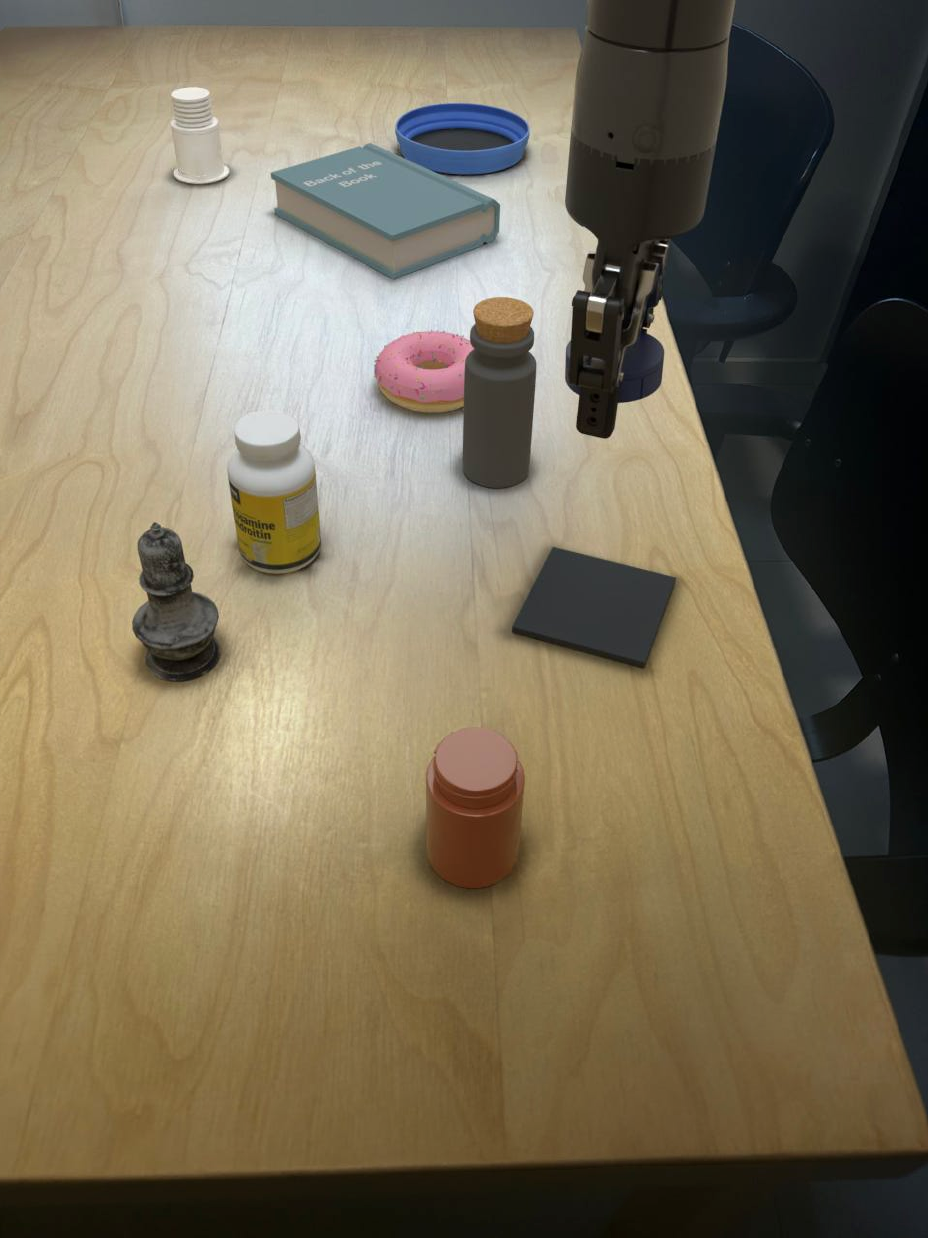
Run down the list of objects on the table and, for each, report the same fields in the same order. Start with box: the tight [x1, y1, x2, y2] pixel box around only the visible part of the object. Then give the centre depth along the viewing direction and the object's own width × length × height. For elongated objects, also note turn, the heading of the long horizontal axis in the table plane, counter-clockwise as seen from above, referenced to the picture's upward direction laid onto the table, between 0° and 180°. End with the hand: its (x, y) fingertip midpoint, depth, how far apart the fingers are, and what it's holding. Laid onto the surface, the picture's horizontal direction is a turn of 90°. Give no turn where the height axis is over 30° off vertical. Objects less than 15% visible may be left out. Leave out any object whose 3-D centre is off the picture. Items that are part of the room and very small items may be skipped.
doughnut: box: [373, 329, 474, 414], centre depth 104 cm, size 11×11×4 cm
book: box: [270, 142, 501, 280], centre depth 131 cm, size 23×16×5 cm
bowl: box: [394, 102, 530, 175], centre depth 149 cm, size 18×18×4 cm
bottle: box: [462, 296, 537, 489], centre depth 91 cm, size 6×6×15 cm
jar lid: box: [564, 327, 665, 404], centre depth 66 cm, size 6×6×2 cm
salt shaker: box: [131, 521, 222, 683], centre depth 75 cm, size 6×6×12 cm
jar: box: [425, 726, 526, 889], centre depth 64 cm, size 6×6×9 cm
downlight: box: [170, 86, 230, 185], centre depth 139 cm, size 8×7×10 cm
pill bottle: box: [226, 409, 322, 575], centre depth 84 cm, size 6×6×12 cm
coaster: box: [511, 546, 677, 669], centre depth 83 cm, size 10×10×1 cm
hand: (608, 405), depth 68 cm, fingers closed on jar lid, 5 cm apart
